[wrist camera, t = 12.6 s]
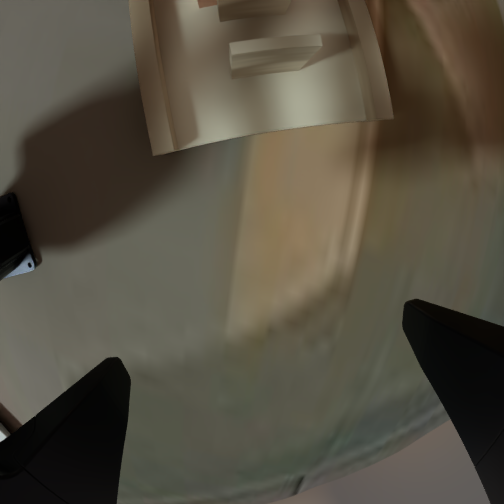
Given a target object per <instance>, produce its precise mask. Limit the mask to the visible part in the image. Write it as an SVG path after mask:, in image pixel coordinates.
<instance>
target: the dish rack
mask: <svg viewBox="0 0 504 504" xmlns="http://www.w3.org/2000/svg"><path fill="white" fill-rule="evenodd" d="M129 10H130V19H131V28H132V37H133V44H134V52H135V59H136V66H137V72H138V79H139V85H140V91H141V97H142V102H143V108H144V113H145V118H146V124H147V129H148V134H149V139H150V143H151V148H152V153H153V156H157V155H164V154H168V153H171V152H175V151H179V150H183V149H187V148H192V147H196V146H200V145H205V144H209V143H214V142H218V141H223V140H228V139H233V138H238V137H244V136H249V135H255V134H261V133H267V132H273V131H280V130H286V129H294V128H301V127H309V126H318V125H327V124H338V123H349V122H363V121H377V120H387V119H394V116H393V110H392V104H391V99H390V93H389V88H388V83H387V79H386V74H385V69H384V65H383V61H382V57H381V53H380V49H379V45H378V41H377V38H376V34H375V31H374V27H373V24H372V21H371V18H370V15H369V11H368V8H367V5H366V2H365V0H217V5H214V6H209V7H204V8H199V5H198V1H197V0H129Z"/></svg>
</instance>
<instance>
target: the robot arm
mask: <svg viewBox="0 0 504 504" xmlns="http://www.w3.org/2000/svg"><path fill="white" fill-rule="evenodd" d="M10 197H11V200H10ZM30 263H31V264H32V265H31V264H30ZM36 267H37V263H36V260H35V257H34V254H33V251H32V249H31V246H30V243H29V240H28V237H27V233H26V230H25V227H24V224H23V220H22V217H21V213H20V210H19V206H18V202H17V198H16V195H15V194H14V193H13V192H11V193H8V194H6V195H4V196H2V197H0V281H1V280H2V279H4V278H7V277H11V276H14V275H18V274H22V273H26V272H29V271H32V270H34V269H35V268H36ZM402 327H403V330H404V333H405V335H406V337H407V339H408V341H409V343H410V345H411V347H412V349H413V351H414V354H415V356H416V358H417V360H418V362H419V364H420V366H421V368H422V370H423V372H424V373H425V375H426V377H427V378H428V380H429V382H430V383H431V385H432V387H433V388H434V390H435V392H436V394H437V395H438V397H439V399H440V401H441V403H442V404H443V406H444V408H445V410H446V412H447V413H448V415H449V417H450V419H451V421H452V423H453V424H454V426H455V428H456V430H457V432H458V434H459V436H460V438H461V440H462V442H463V444H464V446H465V448H466V450H467V452H468V454H469V456H470V458H471V460H472V462H473V464H474V466H475V469H476V471H477V473H478V475H479V478H480V480H481V482H482V484H483V487H484V489H485V491H486V494H487V496H488V498H489V501H490V503H491V504H504V326H500V325H497V324H494V323H491V322H488V321H485V320H482V319H479V318H476V317H473V316H470V315H466V314H463V313H460V312H457V311H454V310H451V309H448V308H445V307H442V306H438V305H435V304H432V303H429V302H426V301H423V300H420V299H413V300H409V301H407V302H405V304H404V310H403V320H402ZM130 387H131V379H130V376H129V374H128V372H127V370H126V368H125V366H124V365H123V363H122V361H121V359H120V358H118V357H109V358H106V359H105V360H104V361H102V362H101V363H100V364H99V365H97V366H96V367H95V368H94V369H92V370H91V371H90V372H89V373H87V374H86V375H85V376H84V377H82V378H81V379H80V380H79V381H77V382H76V383H75V384H74V385H72V386H71V387H70V388H69V389H67V390H66V391H65V392H64V393H63V394H61V395H60V396H59V397H58V398H56V399H55V400H54V401H53V402H51V403H50V404H49V405H48V406H46V407H45V408H44V409H43V410H42V411H40V412H39V413H38V414H37V415H36V417H35V416H34V417H33V418H32V419H30V420H29V421H28V422H27V423H25V424H24V425H23V426H22V427H20V428H19V429H18V430H16V431H15V432H14V433H12V434H11V435H9V436H8V437H7V438H5V439H4V440H2V441H1V442H0V504H117V495H118V486H119V477H120V470H121V462H122V455H123V449H124V442H125V436H126V430H127V423H128V413H129V399H130Z"/></svg>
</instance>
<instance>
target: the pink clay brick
mask: <svg viewBox="0 0 504 504" xmlns="http://www.w3.org/2000/svg"><path fill="white" fill-rule="evenodd" d="M197 1H198V5H199V8H204V7H209V6H214V5H217V0H197Z"/></svg>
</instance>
